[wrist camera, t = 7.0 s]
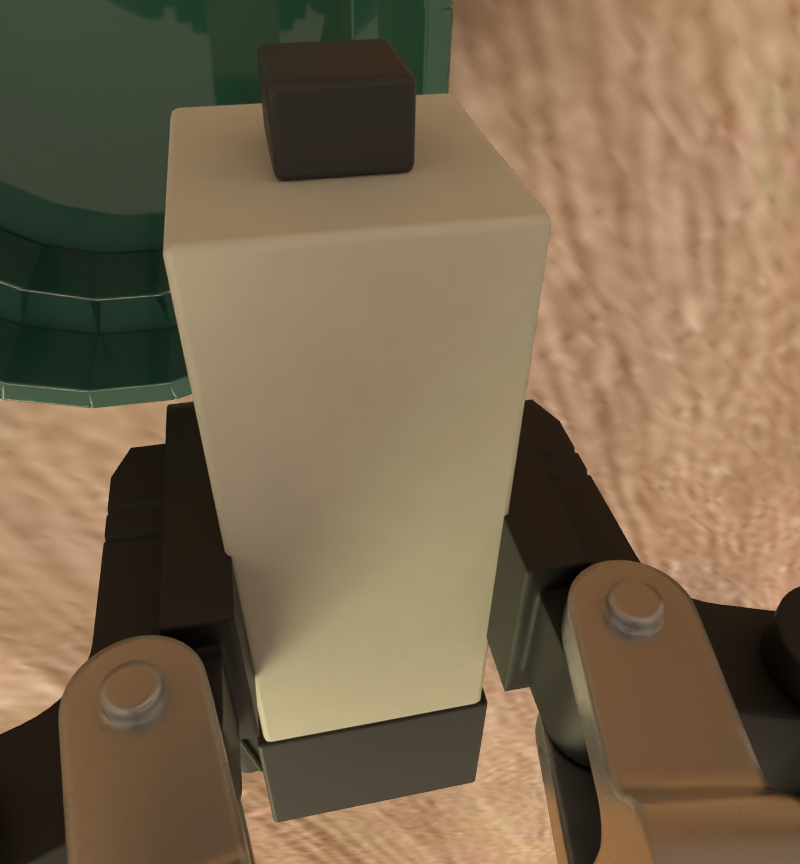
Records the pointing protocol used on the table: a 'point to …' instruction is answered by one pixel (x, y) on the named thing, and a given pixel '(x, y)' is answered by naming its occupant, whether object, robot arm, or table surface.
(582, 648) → the robot arm
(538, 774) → the table surface
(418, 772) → the marker
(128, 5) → the bowl
